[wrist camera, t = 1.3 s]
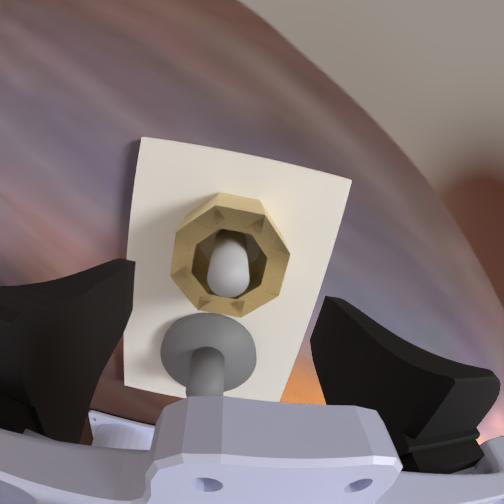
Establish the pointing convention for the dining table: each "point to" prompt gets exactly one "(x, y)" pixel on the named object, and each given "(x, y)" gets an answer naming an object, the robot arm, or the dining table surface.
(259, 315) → the assembly board
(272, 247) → the brass collar
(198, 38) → the dining table surface
